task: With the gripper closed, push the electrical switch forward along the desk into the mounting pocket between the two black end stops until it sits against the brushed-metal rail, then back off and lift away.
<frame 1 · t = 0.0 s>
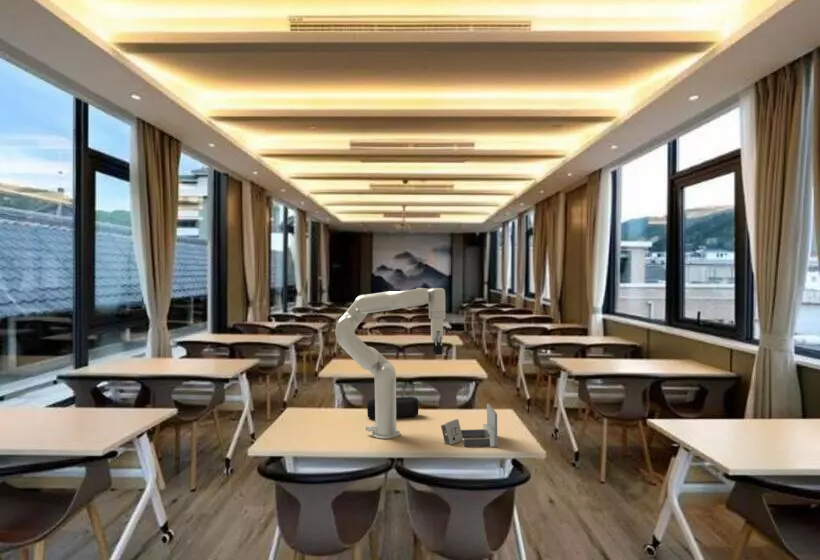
hand: (437, 353, 256), 37 cm above the table, tool pointing down, fingers open, 9 cm apart
rail mount: (476, 441, 244), on the table
electrical switch: (451, 442, 244), on the table
portable speaker: (392, 417, 288), on the table
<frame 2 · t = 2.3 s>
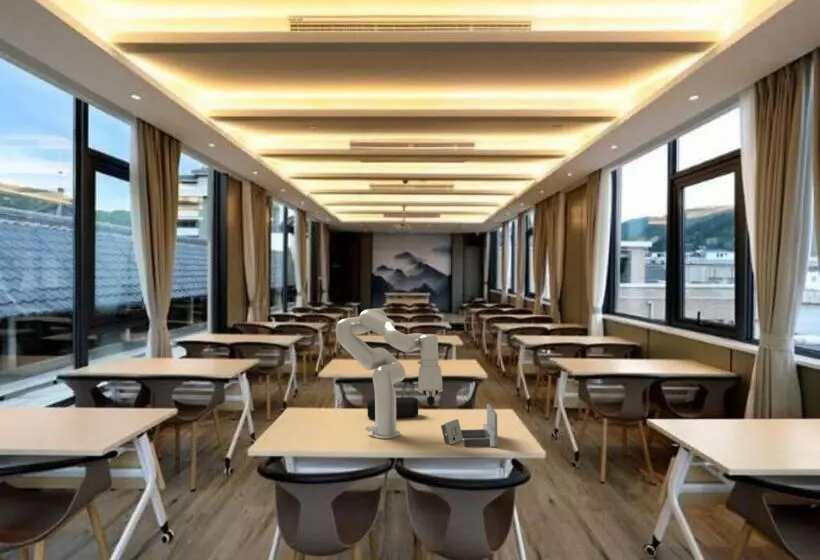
hand: (430, 405, 243), 16 cm above the table, tool pointing down, fingers closed
nothing on the table moved.
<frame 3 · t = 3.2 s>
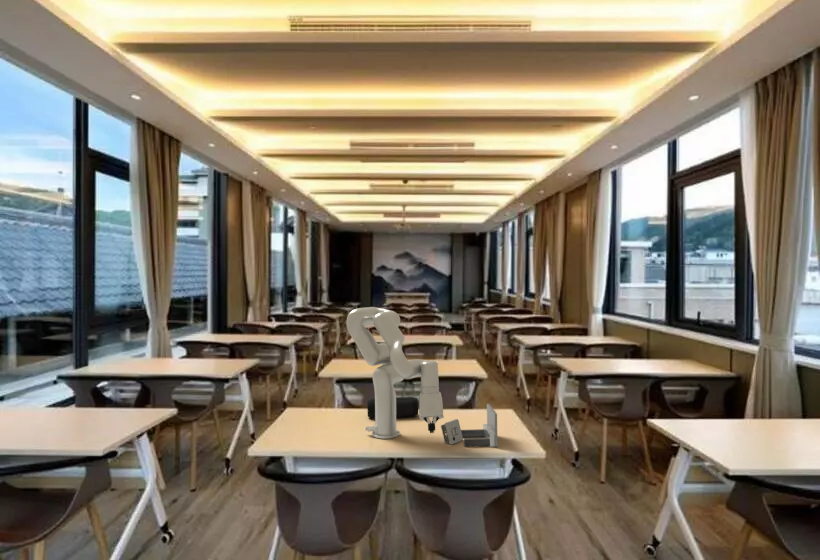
hand: (431, 432, 243), 4 cm above the table, tool pointing down, fingers closed
nothing on the table moved.
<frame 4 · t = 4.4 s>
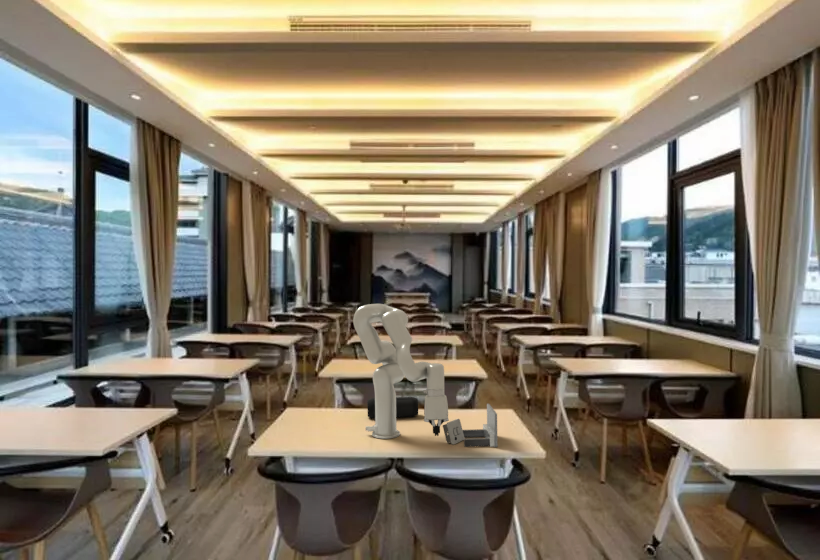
hand: (436, 434, 244), 3 cm above the table, tool pointing down, fingers closed
electrical switch: (453, 442, 244), on the table, touching gripper
everything else where it was.
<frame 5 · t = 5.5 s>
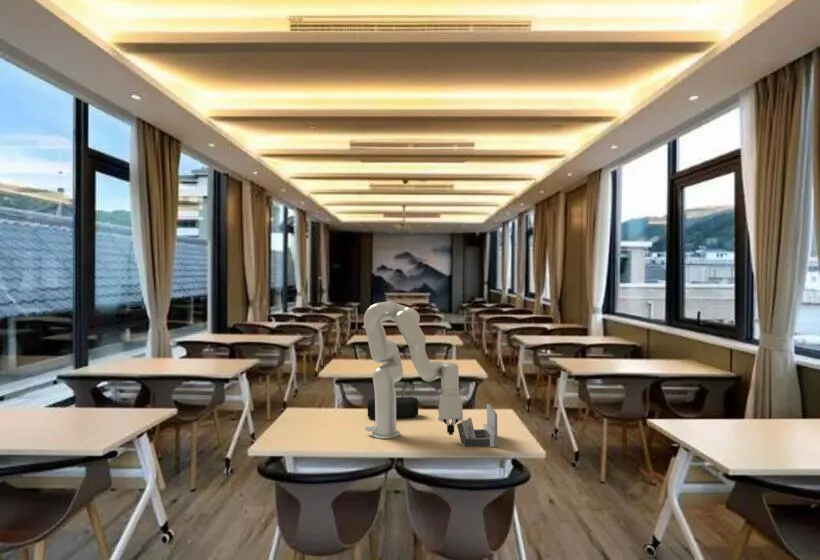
hand: (450, 434, 244), 3 cm above the table, tool pointing down, fingers closed
electrical switch: (466, 440, 245), on the table, touching gripper
everything else where it was.
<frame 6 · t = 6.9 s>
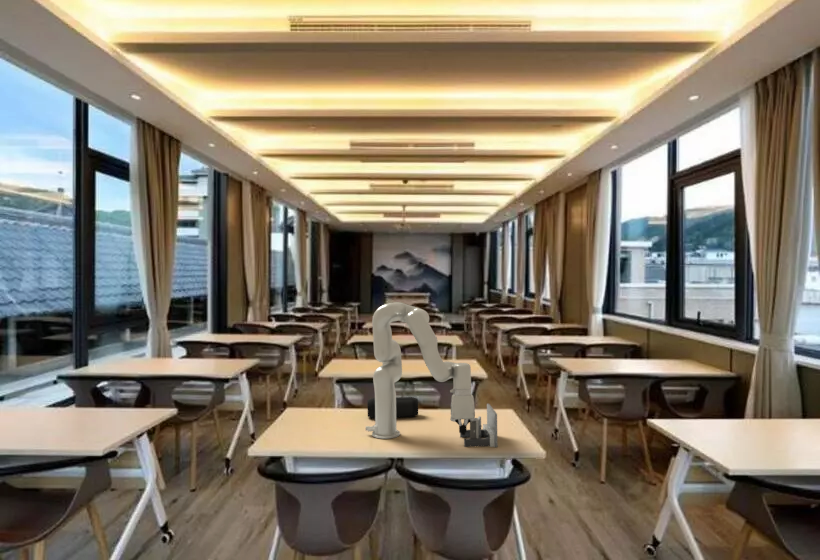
hand: (462, 434, 244), 3 cm above the table, tool pointing down, fingers closed
electrical switch: (473, 438, 246), point 1 cm above the table, touching gripper
everything else where it was.
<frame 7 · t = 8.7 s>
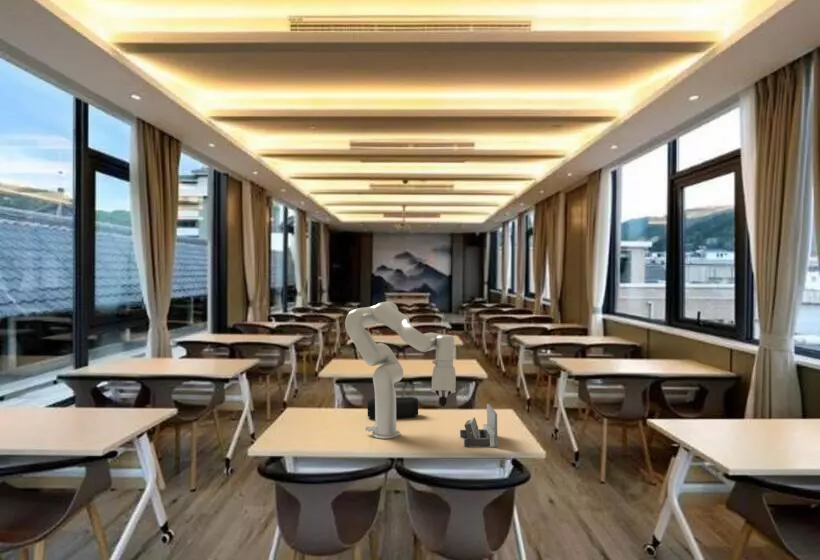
hand: (442, 405, 244), 16 cm above the table, tool pointing down, fingers closed
electrical switch: (473, 440, 246), on the table
everything else where it was.
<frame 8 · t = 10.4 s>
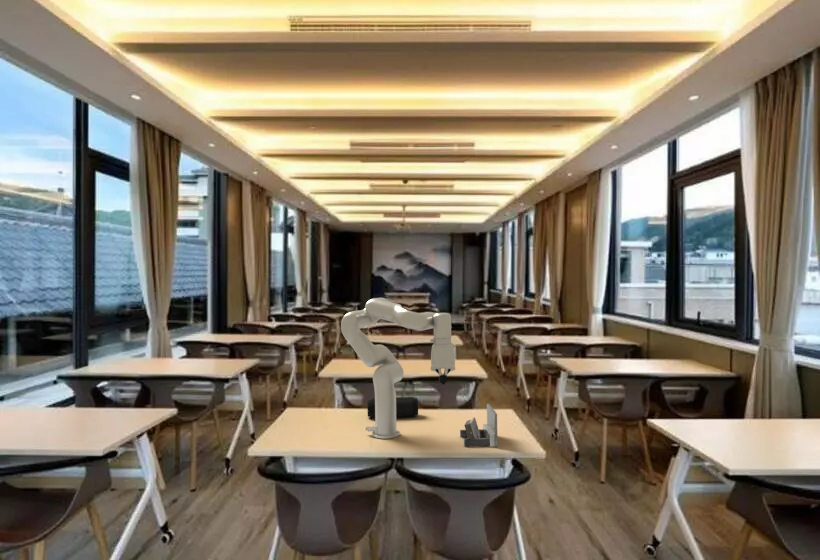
hand: (443, 384, 244), 25 cm above the table, tool pointing down, fingers closed
nothing on the table moved.
at the end: electrical switch inside the target area (2.0 cm from its centre), on the table; electrical switch tilted 0° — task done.
